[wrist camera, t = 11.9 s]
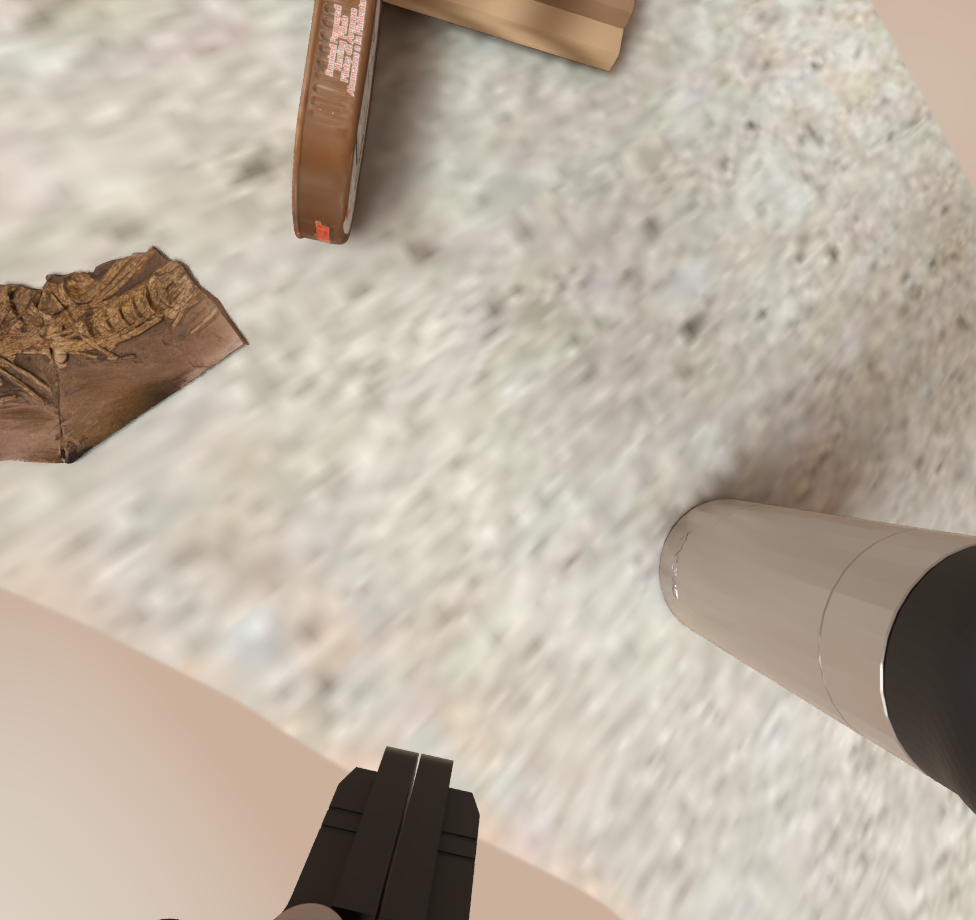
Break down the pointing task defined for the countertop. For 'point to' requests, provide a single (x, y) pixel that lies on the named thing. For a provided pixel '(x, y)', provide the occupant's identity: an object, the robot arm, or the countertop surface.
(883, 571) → the robot arm
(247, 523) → the countertop surface
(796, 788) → the countertop surface
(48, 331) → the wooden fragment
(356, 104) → the tin
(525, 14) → the walnut plank
